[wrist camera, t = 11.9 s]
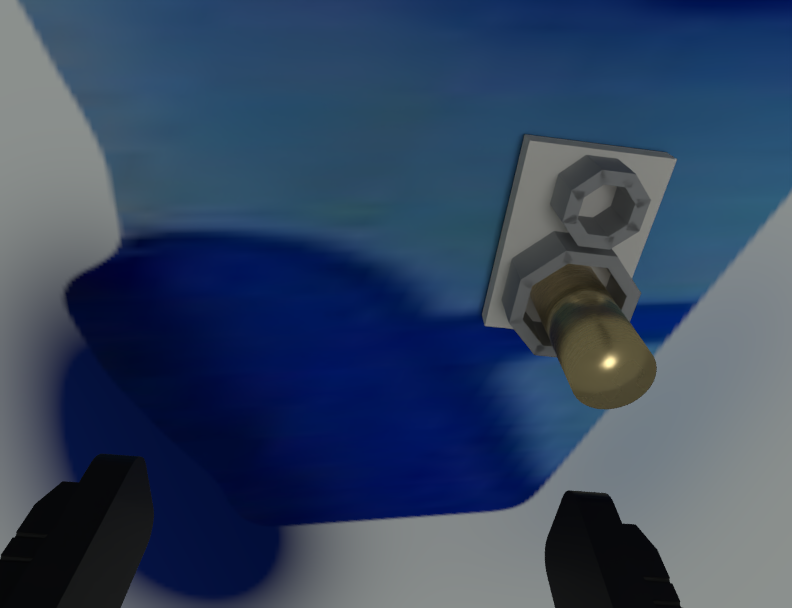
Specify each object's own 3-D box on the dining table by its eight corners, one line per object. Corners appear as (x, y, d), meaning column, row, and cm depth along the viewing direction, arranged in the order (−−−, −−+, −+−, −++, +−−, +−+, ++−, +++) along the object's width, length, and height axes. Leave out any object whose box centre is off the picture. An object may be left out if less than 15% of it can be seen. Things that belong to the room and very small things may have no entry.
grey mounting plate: (524, 134, 34) (541, 154, 31) (666, 152, 35) (700, 174, 31) (481, 314, 41) (491, 350, 37) (602, 327, 42) (623, 364, 38)
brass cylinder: (538, 252, 37) (584, 336, 28) (603, 260, 37) (669, 346, 28) (522, 310, 39) (560, 405, 30) (584, 317, 39) (639, 412, 31)
